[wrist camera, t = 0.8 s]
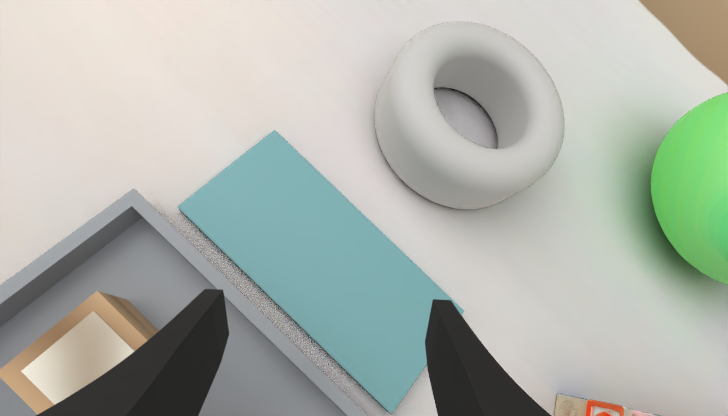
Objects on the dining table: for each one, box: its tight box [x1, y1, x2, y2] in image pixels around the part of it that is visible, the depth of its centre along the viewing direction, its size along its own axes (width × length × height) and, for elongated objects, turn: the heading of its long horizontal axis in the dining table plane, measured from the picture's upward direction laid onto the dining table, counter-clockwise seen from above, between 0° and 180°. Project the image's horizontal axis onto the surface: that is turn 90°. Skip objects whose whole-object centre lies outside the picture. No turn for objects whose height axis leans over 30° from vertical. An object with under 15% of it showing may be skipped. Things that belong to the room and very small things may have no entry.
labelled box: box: [0, 291, 159, 414], centre depth 21 cm, size 5×5×5 cm
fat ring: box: [374, 22, 564, 209], centre depth 32 cm, size 15×15×7 cm
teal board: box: [178, 130, 464, 414], centre depth 28 cm, size 9×20×1 cm, turn 49°
